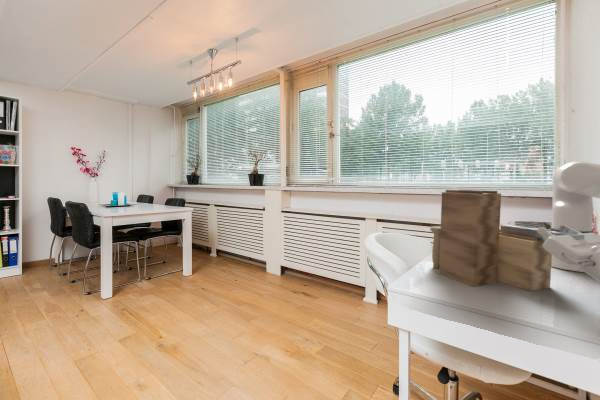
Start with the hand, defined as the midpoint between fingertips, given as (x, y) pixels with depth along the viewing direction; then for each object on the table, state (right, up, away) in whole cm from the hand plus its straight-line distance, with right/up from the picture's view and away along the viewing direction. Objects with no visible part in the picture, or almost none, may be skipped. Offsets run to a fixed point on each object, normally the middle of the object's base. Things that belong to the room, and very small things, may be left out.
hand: (550, 228), depth 82 cm
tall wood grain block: (-17, -18, +12) cm, 27 cm away
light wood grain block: (-3, -18, +10) cm, 21 cm away
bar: (-1, -4, +3) cm, 5 cm away
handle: (-21, -17, +24) cm, 36 cm away
